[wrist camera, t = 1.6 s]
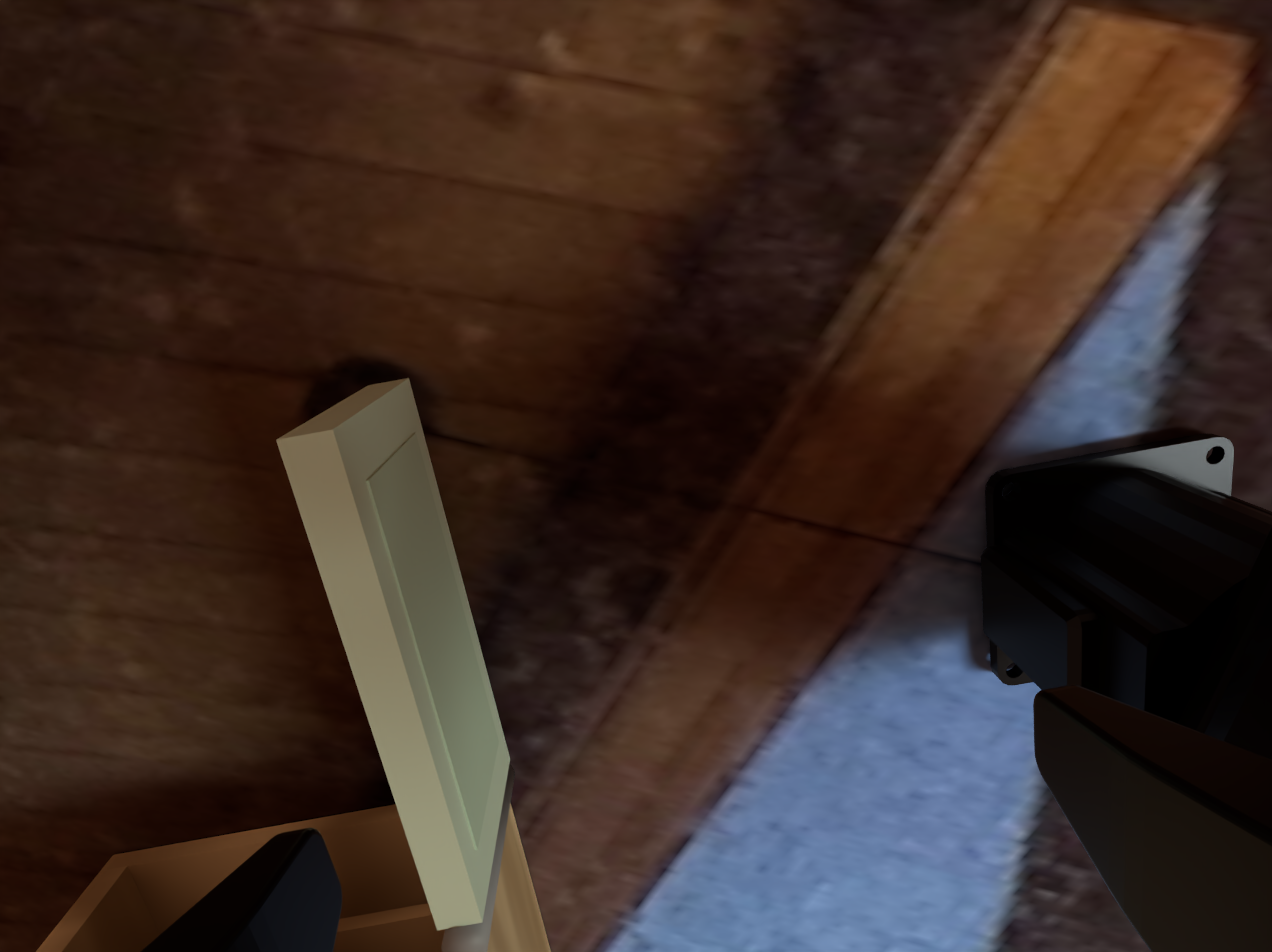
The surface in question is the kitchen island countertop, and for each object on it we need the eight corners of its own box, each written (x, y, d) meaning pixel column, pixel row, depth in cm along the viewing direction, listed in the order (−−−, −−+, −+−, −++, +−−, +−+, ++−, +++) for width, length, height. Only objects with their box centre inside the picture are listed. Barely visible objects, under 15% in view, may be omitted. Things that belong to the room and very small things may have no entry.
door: (520, 784, 22) (494, 960, 16) (484, 791, 22) (447, 968, 16) (411, 376, 18) (333, 429, 13) (369, 384, 18) (273, 441, 13)
